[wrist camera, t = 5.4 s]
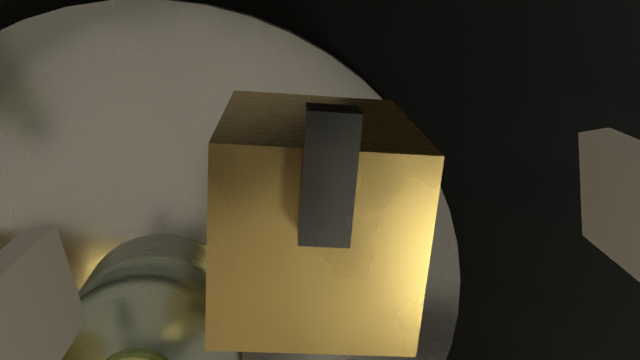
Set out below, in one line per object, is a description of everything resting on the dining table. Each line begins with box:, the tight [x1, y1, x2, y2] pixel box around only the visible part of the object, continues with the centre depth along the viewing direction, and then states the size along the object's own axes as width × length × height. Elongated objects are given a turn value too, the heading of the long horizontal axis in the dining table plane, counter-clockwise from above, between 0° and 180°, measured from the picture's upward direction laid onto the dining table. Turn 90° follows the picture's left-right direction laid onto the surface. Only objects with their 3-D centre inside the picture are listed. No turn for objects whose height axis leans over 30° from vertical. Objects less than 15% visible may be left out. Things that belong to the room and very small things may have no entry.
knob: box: [205, 90, 445, 357], centre depth 16 cm, size 6×5×9 cm
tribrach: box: [0, 0, 460, 360], centre depth 20 cm, size 22×22×6 cm
